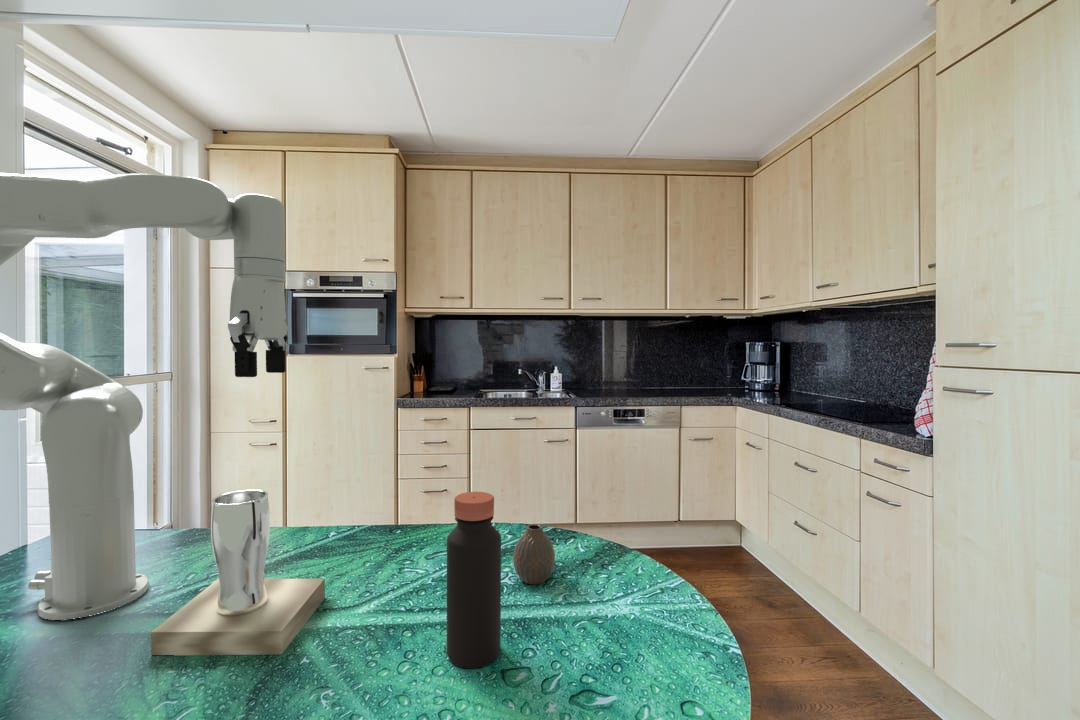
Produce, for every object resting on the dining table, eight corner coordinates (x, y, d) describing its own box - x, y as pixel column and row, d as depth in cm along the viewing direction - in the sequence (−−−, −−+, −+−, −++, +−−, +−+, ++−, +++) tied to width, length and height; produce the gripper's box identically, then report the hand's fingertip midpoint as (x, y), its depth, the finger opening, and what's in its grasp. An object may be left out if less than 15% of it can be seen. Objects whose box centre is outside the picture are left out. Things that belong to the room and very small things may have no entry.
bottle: (486, 675, 61) (486, 509, 60) (436, 662, 63) (436, 502, 62) (509, 643, 67) (510, 492, 66) (463, 632, 70) (463, 486, 69)
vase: (506, 583, 84) (506, 530, 83) (523, 566, 90) (523, 517, 90) (545, 592, 81) (546, 537, 81) (560, 573, 87) (561, 522, 87)
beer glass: (244, 621, 67) (242, 506, 66) (199, 614, 68) (197, 502, 67) (282, 595, 73) (281, 491, 73) (241, 589, 75) (239, 487, 74)
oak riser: (151, 655, 64) (150, 632, 64) (218, 598, 78) (217, 579, 78) (281, 654, 65) (281, 631, 64) (324, 597, 79) (324, 578, 78)
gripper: (263, 277, 94) (265, 371, 95) (205, 264, 77) (207, 378, 78) (305, 278, 95) (306, 371, 95) (256, 265, 77) (257, 379, 78)
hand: (261, 374), depth 87 cm, fingers open, 9 cm apart
